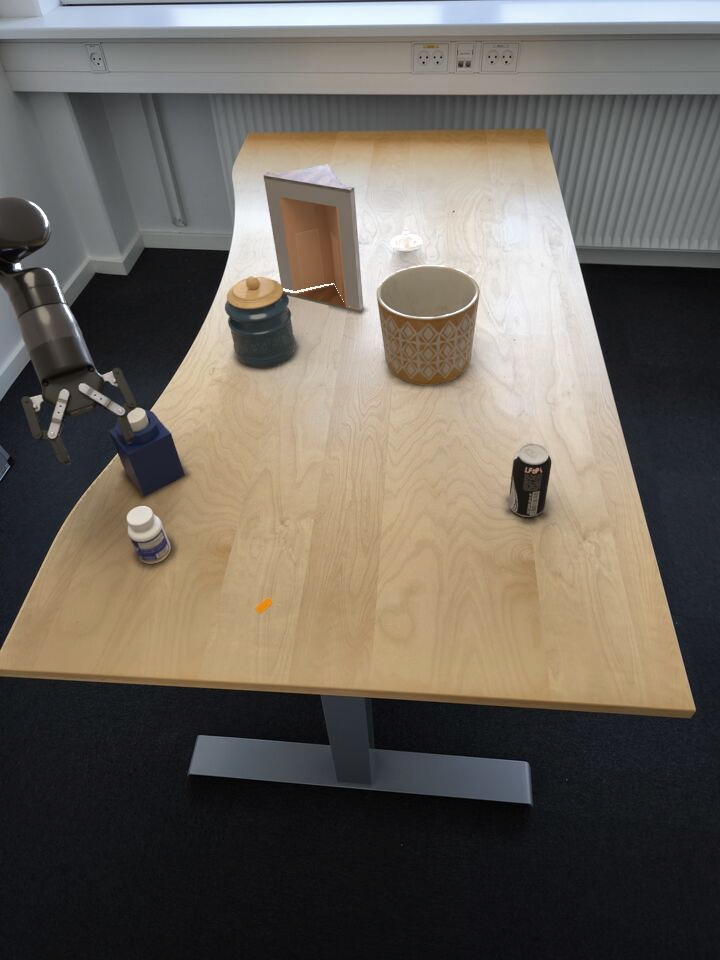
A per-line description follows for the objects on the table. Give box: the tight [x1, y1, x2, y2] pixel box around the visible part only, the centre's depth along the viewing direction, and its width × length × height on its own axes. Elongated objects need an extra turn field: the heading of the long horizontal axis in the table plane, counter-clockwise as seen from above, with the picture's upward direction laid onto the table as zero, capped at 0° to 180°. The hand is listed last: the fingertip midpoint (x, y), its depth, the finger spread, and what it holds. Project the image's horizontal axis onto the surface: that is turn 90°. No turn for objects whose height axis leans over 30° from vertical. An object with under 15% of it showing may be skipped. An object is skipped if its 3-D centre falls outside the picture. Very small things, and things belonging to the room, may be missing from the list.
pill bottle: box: [126, 505, 171, 565], centre depth 115 cm, size 5×5×9 cm
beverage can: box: [508, 442, 552, 518], centre depth 115 cm, size 6×6×12 cm
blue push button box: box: [108, 409, 186, 497], centre depth 127 cm, size 8×8×12 cm
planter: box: [376, 264, 481, 386], centre depth 143 cm, size 19×19×16 cm
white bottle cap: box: [127, 407, 149, 432], centre depth 122 cm, size 4×4×2 cm
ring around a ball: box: [389, 227, 423, 253], centre depth 182 cm, size 8×6×8 cm
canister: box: [224, 275, 296, 369], centre depth 150 cm, size 13×13×18 cm
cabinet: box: [262, 163, 364, 314], centre depth 161 cm, size 21×10×28 cm, turn 61°
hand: (99, 453), depth 102 cm, fingers open, 8 cm apart
